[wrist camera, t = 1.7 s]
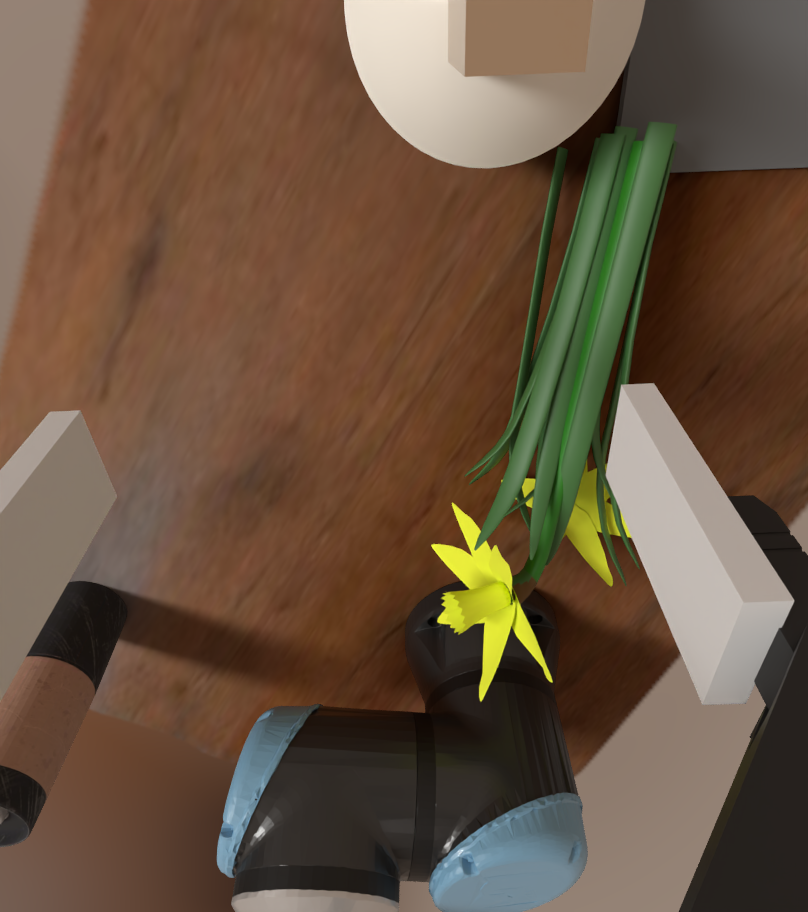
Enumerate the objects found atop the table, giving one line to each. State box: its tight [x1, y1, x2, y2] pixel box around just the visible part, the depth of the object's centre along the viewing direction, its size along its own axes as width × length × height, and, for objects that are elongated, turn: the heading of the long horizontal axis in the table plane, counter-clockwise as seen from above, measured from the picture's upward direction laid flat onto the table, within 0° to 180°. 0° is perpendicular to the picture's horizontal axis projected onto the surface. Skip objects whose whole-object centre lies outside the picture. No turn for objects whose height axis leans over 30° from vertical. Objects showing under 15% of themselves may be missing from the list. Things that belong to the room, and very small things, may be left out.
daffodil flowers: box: [431, 122, 678, 701], centre depth 41 cm, size 17×15×35 cm
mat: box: [616, 0, 808, 173], centre depth 34 cm, size 15×13×1 cm
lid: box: [344, 0, 645, 168], centre depth 24 cm, size 13×13×10 cm
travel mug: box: [0, 581, 127, 847], centre depth 52 cm, size 8×8×20 cm
